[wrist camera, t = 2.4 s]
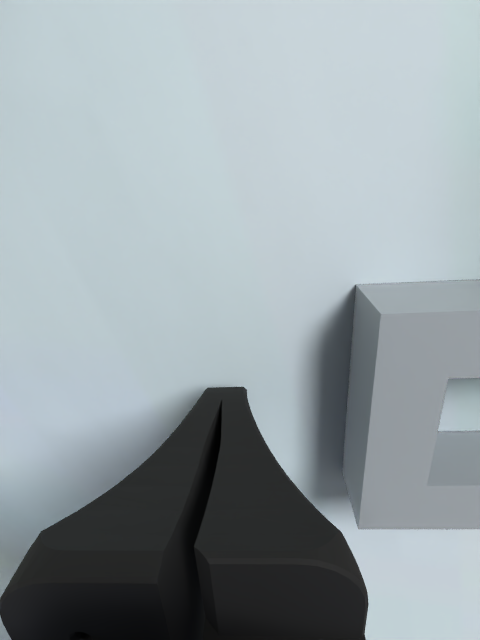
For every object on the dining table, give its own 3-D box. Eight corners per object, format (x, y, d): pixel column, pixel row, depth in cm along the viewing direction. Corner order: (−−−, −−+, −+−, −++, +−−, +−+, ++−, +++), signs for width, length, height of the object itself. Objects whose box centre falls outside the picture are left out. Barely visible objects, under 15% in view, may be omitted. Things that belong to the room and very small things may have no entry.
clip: (521, 470, 14) (572, 528, 12) (342, 472, 15) (358, 529, 12) (586, 275, 11) (673, 303, 9) (355, 284, 11) (381, 314, 9)
